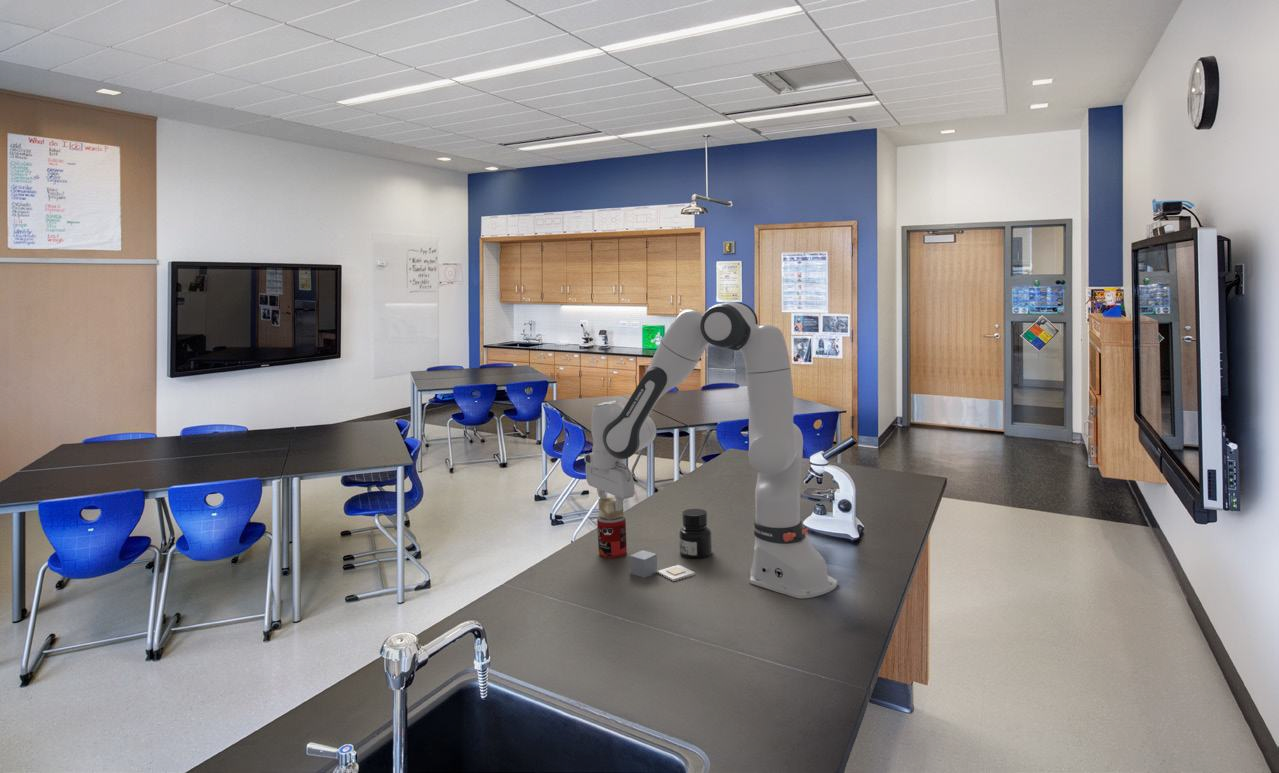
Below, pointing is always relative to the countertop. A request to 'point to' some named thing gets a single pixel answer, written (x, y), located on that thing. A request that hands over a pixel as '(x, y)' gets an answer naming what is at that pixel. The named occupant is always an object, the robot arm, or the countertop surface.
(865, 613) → the countertop surface
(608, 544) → the canned food
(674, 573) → the tile
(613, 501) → the maple block
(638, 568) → the slate block
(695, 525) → the ink bottle
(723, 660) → the countertop surface
